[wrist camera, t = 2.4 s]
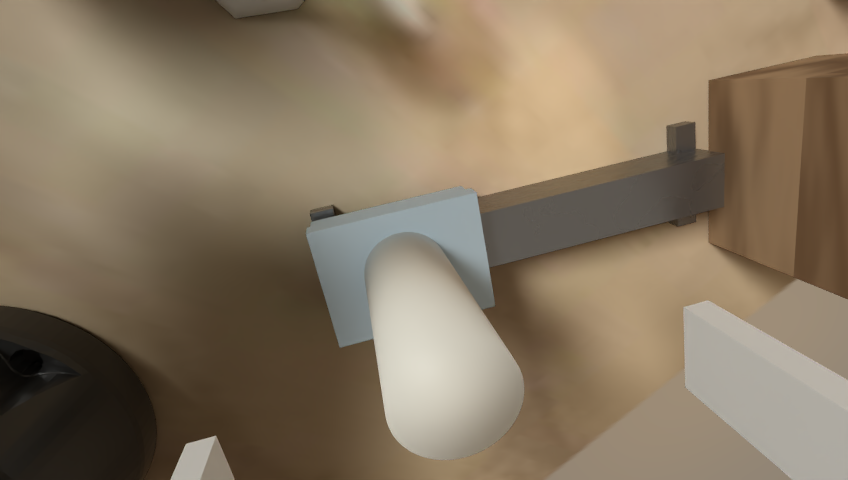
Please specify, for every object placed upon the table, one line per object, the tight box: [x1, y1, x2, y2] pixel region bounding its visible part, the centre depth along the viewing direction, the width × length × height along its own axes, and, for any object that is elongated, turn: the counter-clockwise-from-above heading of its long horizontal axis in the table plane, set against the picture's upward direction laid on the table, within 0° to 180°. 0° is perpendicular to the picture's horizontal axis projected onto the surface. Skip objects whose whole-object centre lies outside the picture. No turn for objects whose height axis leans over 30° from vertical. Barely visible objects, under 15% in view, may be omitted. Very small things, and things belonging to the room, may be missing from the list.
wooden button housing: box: [709, 54, 848, 299], centre depth 24 cm, size 7×10×10 cm
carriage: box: [306, 186, 524, 460], centre depth 19 cm, size 8×6×13 cm
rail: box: [310, 121, 725, 268], centre depth 26 cm, size 22×6×3 cm, turn 102°
